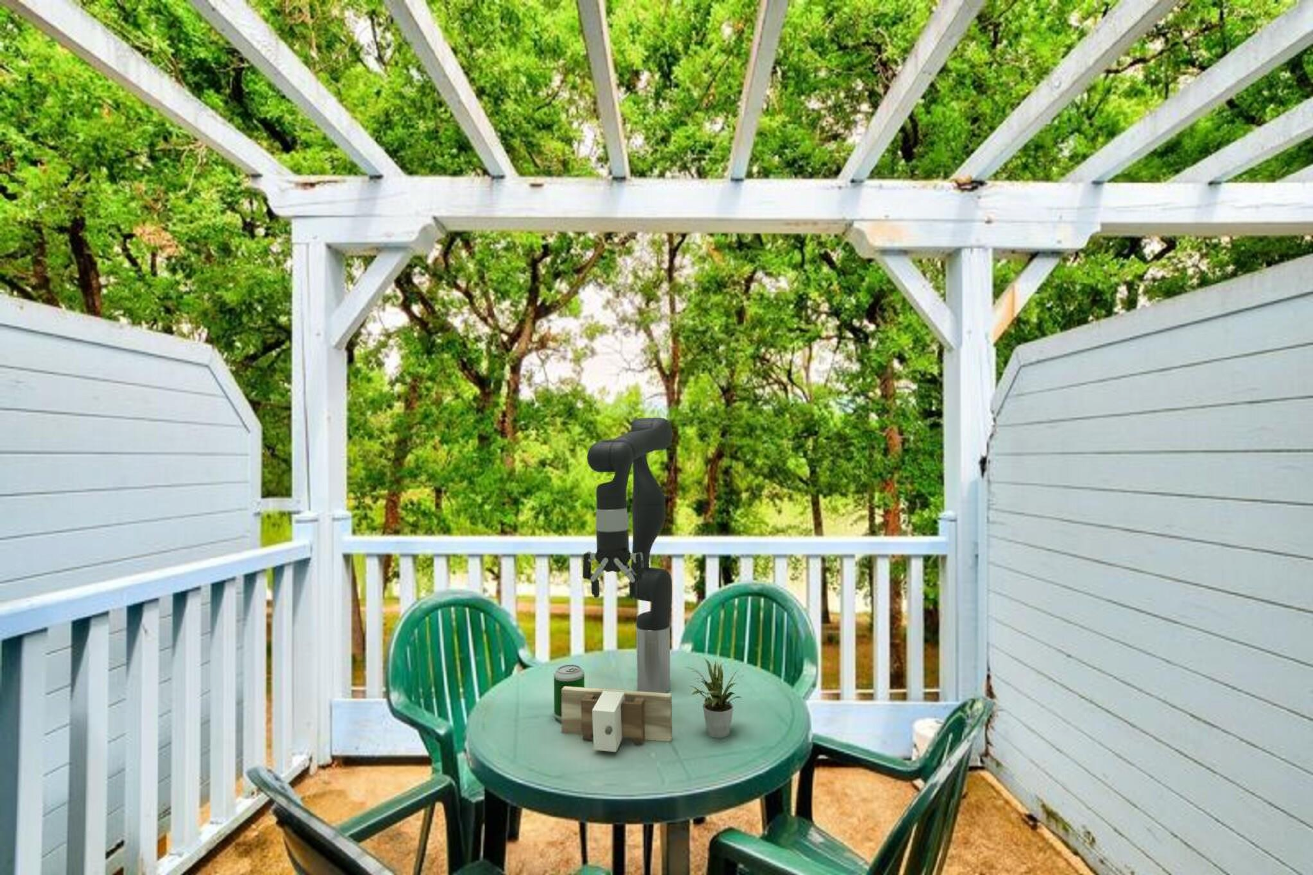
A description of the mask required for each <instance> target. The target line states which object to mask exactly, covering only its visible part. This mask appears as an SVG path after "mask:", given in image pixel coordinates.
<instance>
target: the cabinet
mask: <svg viewBox="0 0 1313 875" xmlns="http://www.w3.org/2000/svg"><path fill="white" fill-rule="evenodd" d="M622 701H624V702H625V696H624V692H613V691H603V692H602V694H601V696H600V697H599V699H598V701H597V703H596V704H595V706H594V708H593V710H592V719H593V738H592V739H593V741H592V742H593V750H594V751H602V752H603V751H605V752H613V753H616V752H617V751H618V748H619V746H620V744H621V742H622V740H623V738H622V725H621V703H622Z"/></svg>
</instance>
